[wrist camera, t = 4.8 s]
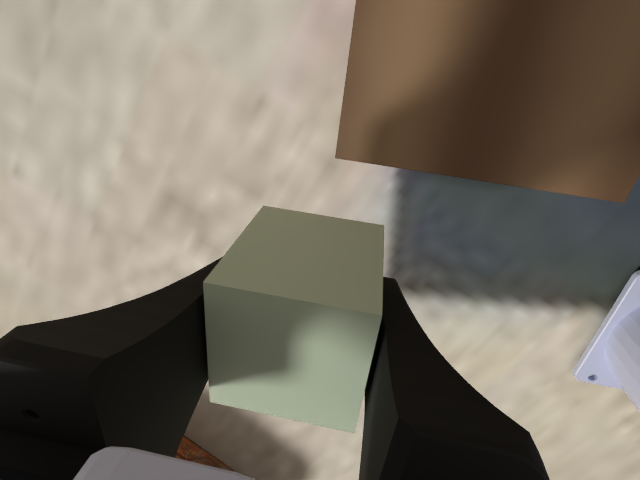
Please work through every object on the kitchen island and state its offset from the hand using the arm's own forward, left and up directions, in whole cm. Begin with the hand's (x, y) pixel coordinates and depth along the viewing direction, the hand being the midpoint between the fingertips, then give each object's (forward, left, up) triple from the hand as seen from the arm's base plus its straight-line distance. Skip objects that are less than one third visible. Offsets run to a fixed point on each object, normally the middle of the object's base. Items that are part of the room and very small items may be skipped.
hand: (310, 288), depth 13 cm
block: (0, 0, -2) cm, 2 cm away
